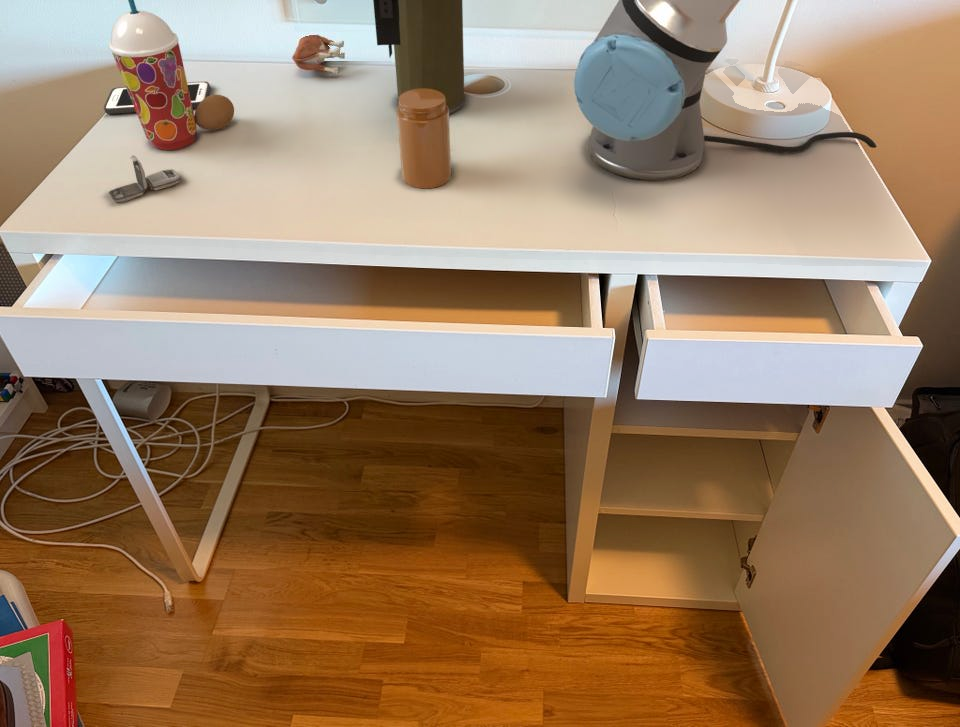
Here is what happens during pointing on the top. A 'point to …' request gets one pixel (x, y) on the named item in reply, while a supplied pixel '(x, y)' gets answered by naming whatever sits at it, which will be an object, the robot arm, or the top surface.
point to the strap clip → (145, 182)
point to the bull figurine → (316, 53)
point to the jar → (424, 138)
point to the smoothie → (154, 77)
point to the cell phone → (123, 104)
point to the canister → (431, 49)
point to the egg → (214, 112)
